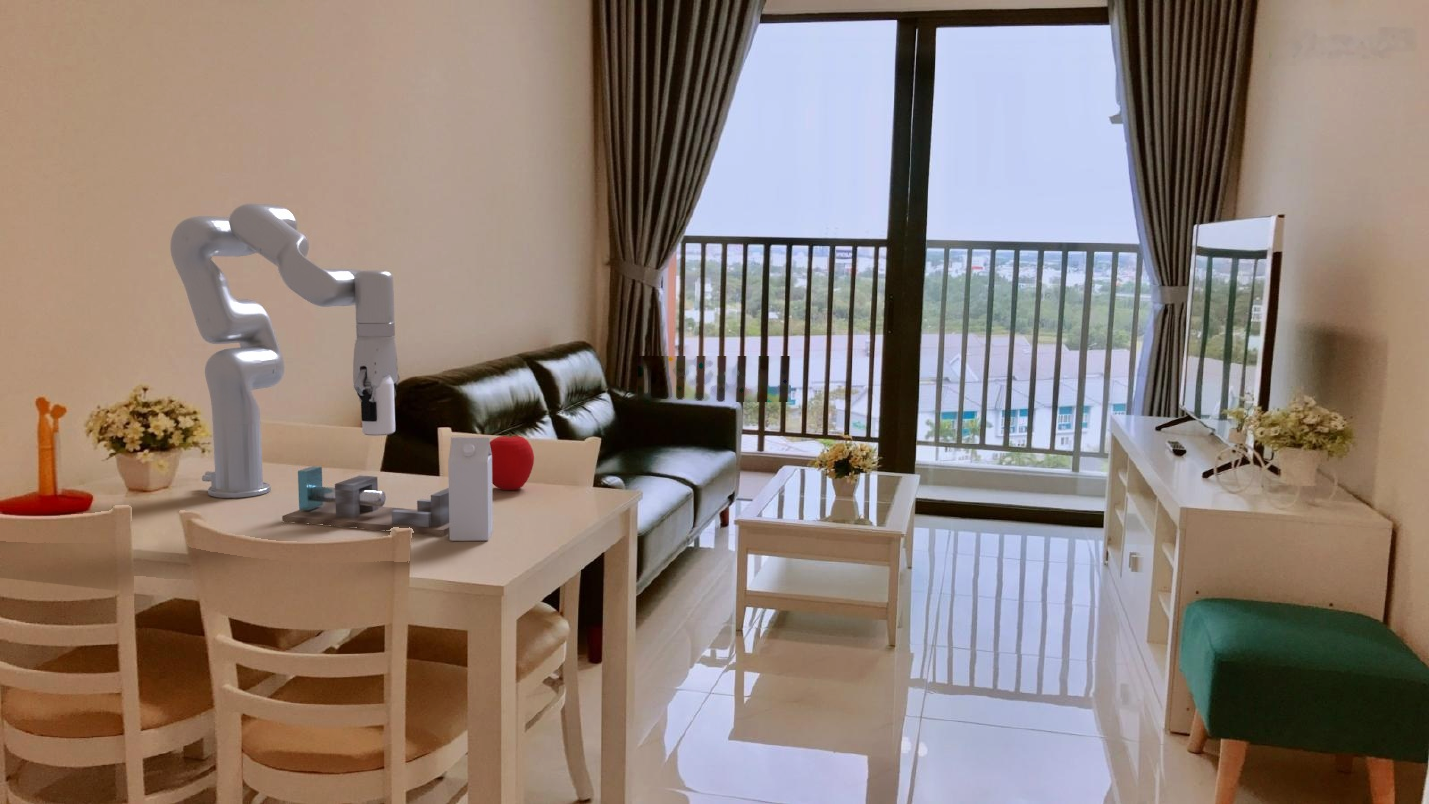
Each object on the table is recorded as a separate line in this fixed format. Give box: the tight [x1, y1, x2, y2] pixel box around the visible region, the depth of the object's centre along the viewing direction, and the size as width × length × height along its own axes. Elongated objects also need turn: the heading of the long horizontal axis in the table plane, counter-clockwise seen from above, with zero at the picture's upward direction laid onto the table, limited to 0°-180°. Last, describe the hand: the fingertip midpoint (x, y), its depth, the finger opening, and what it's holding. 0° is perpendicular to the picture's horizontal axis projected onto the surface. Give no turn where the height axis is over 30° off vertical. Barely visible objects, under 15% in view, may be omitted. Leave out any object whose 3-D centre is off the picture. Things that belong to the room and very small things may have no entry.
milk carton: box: [447, 436, 494, 542], centre depth 205 cm, size 7×7×19 cm
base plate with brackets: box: [281, 475, 450, 537], centre depth 216 cm, size 35×13×8 cm, turn 75°
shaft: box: [297, 466, 387, 511], centre depth 218 cm, size 17×5×8 cm, turn 75°
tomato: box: [490, 432, 535, 491], centre depth 246 cm, size 11×11×13 cm
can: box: [361, 375, 396, 437], centre depth 224 cm, size 6×6×12 cm
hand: (378, 417), depth 225 cm, fingers closed on can, 6 cm apart
